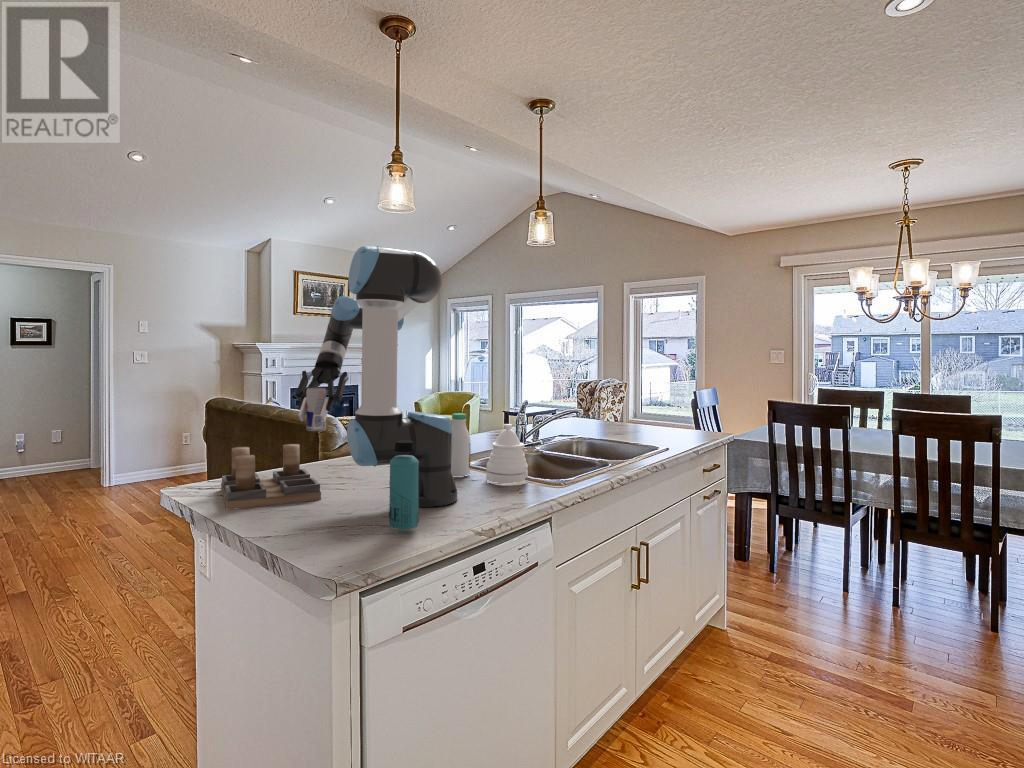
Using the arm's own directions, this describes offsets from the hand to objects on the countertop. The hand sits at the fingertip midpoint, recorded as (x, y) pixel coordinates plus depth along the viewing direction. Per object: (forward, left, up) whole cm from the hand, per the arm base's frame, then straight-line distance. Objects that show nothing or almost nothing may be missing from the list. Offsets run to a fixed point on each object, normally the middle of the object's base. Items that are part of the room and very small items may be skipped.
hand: (311, 418), depth 154 cm
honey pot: (-16, -55, -20) cm, 61 cm away
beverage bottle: (-48, -10, -20) cm, 53 cm away
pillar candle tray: (-2, +11, -20) cm, 23 cm away
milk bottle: (-2, -45, -20) cm, 49 cm away
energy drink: (+3, -2, -4) cm, 6 cm away
